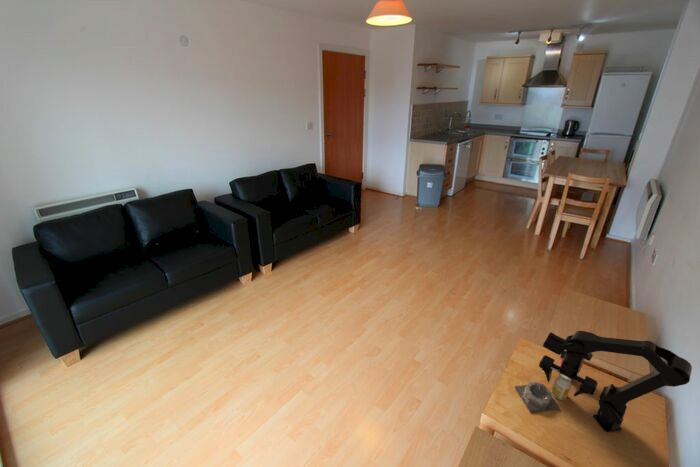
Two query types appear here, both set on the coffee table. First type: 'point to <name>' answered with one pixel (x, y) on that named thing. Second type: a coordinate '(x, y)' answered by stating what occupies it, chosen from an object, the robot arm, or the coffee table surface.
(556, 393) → the supplement bottle
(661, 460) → the coffee table surface
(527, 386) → the collar
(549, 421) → the coffee table surface
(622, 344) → the robot arm
